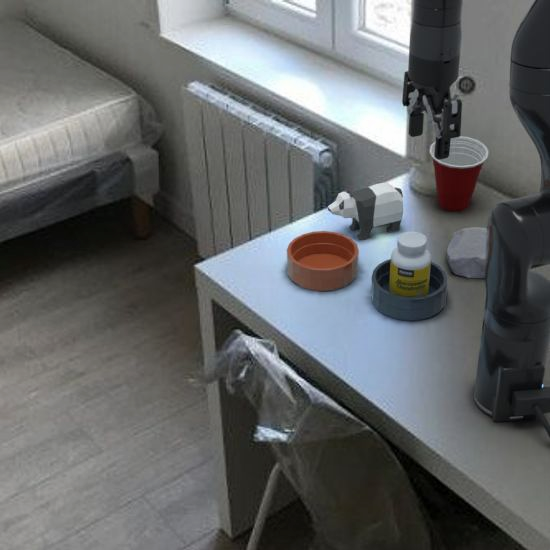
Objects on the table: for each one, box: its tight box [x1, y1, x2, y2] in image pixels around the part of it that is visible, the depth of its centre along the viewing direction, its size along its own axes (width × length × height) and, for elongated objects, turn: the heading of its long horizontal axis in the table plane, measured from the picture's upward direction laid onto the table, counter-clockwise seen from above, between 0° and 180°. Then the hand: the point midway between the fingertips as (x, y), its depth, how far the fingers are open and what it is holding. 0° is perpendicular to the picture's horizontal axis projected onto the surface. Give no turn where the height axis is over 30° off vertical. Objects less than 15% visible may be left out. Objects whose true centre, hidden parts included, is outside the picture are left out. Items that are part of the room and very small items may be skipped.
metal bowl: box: [370, 258, 449, 321], centre depth 160 cm, size 12×12×4 cm
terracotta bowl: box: [286, 230, 360, 292], centre depth 167 cm, size 12×12×4 cm
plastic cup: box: [429, 135, 489, 213], centre depth 182 cm, size 11×11×12 cm
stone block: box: [446, 226, 487, 279], centre depth 169 cm, size 12×5×10 cm
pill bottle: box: [389, 231, 432, 297], centre depth 158 cm, size 6×6×12 cm
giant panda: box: [327, 182, 404, 241], centre depth 176 cm, size 15×6×10 cm, turn 111°
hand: (428, 146), depth 153 cm, fingers open, 8 cm apart
